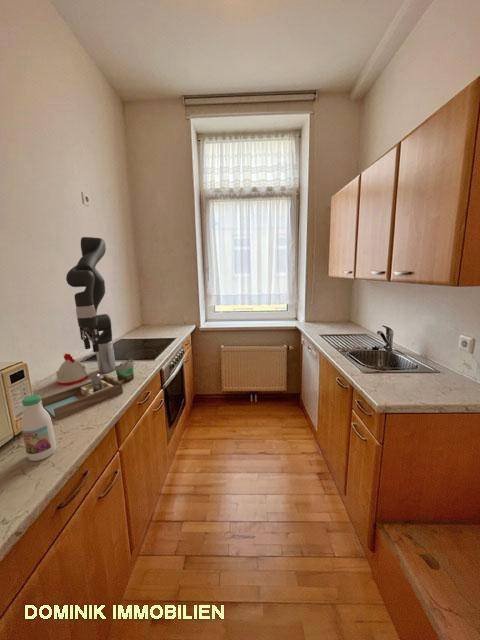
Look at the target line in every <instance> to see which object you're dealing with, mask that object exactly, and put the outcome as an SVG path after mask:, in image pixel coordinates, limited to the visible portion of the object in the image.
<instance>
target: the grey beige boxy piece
mask: <svg viewBox="0 0 480 640" xmlns="http://www.w3.org/2000/svg"><path fill="white" fill-rule="evenodd" d="M100 374H101V373H100V372H97V373H93V374H90V378H91V381H92V383H91V384H88V385H86V386H83V387H80V388H81V393H82V394H83V395H85V396H89V395H92V394H94V393H97V392H100V391H102V390H105V389H108V388H110V387H113V385H111V384H109V383H107V382H105V381H103V380H100V378H101V375H100Z"/></svg>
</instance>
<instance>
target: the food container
mask: <svg viewBox="0 0 480 640" xmlns="http://www.w3.org/2000/svg"><path fill="white" fill-rule="evenodd" d="M134 365H135V362H134V358H131V357H129V358H128V357H127V360H126V361H123V362H121V363H120V364H119V365H116V366H115V370H114V371H115V373H116V377H117V380H118V381H120V382H122V384H126V383H129V382H131V381H133V380H134V374H135V371H134Z"/></svg>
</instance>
